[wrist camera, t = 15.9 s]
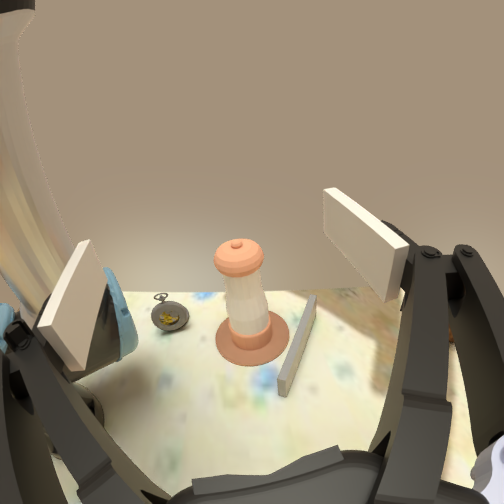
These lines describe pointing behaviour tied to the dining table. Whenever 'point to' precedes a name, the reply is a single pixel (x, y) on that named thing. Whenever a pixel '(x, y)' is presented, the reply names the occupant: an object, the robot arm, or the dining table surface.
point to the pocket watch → (169, 314)
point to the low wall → (297, 347)
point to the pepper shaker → (244, 293)
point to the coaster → (253, 356)
